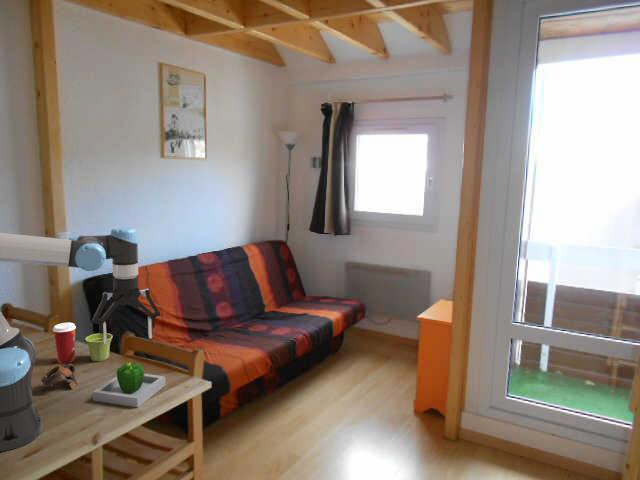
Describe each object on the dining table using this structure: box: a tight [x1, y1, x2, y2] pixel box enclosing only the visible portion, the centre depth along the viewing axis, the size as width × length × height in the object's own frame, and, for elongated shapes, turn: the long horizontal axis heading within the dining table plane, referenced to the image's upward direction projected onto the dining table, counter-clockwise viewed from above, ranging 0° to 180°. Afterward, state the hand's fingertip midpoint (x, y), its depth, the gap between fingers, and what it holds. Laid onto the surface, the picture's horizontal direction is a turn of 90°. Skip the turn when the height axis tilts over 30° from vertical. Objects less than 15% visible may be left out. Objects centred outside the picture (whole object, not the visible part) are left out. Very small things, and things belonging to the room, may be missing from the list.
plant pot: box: [85, 332, 113, 362], centre depth 182 cm, size 9×9×9 cm
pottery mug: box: [40, 363, 78, 390], centre depth 160 cm, size 12×10×8 cm
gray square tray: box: [92, 373, 167, 408], centre depth 156 cm, size 16×16×3 cm
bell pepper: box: [116, 362, 145, 393], centre depth 156 cm, size 8×8×10 cm
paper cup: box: [52, 322, 77, 364], centre depth 180 cm, size 8×8×14 cm
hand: (128, 340), depth 154 cm, fingers open, 13 cm apart
